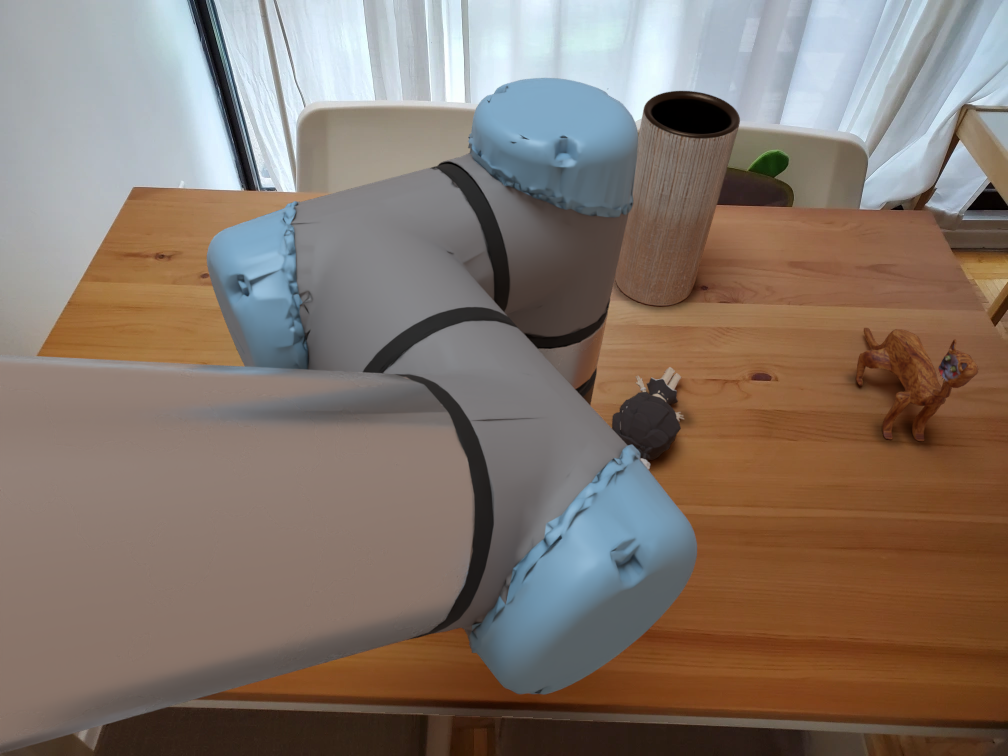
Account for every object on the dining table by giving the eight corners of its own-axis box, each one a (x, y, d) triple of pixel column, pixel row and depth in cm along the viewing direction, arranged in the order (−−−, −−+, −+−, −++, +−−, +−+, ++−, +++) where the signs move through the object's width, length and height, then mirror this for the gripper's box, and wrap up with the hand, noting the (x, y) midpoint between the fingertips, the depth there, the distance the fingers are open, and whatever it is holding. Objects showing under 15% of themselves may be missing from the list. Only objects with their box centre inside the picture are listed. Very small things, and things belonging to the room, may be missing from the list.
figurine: (634, 365, 81) (579, 451, 71) (671, 335, 76) (617, 423, 66) (680, 406, 81) (632, 497, 71) (719, 378, 76) (673, 472, 66)
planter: (686, 257, 95) (730, 91, 78) (699, 308, 88) (750, 137, 72) (611, 255, 95) (638, 88, 78) (617, 306, 88) (649, 134, 72)
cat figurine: (833, 334, 86) (880, 240, 76) (889, 336, 86) (943, 243, 76) (878, 455, 74) (941, 363, 64) (943, 459, 74) (1017, 367, 63)
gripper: (712, 418, 39) (638, 607, 56) (466, 252, 49) (465, 456, 65) (627, 497, 36) (575, 674, 52) (378, 301, 45) (401, 504, 62)
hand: (514, 553), depth 59 cm, fingers closed on downlight, 7 cm apart
